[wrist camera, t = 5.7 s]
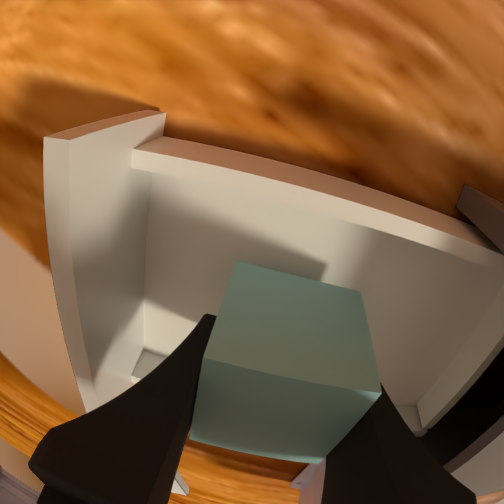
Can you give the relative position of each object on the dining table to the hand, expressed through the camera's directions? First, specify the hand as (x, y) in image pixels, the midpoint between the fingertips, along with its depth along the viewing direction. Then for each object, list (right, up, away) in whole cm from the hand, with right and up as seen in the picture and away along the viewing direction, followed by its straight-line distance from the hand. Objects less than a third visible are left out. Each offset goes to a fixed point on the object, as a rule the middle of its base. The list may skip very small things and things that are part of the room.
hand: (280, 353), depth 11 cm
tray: (+2, +1, +3) cm, 3 cm away
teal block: (0, +1, +1) cm, 1 cm away
